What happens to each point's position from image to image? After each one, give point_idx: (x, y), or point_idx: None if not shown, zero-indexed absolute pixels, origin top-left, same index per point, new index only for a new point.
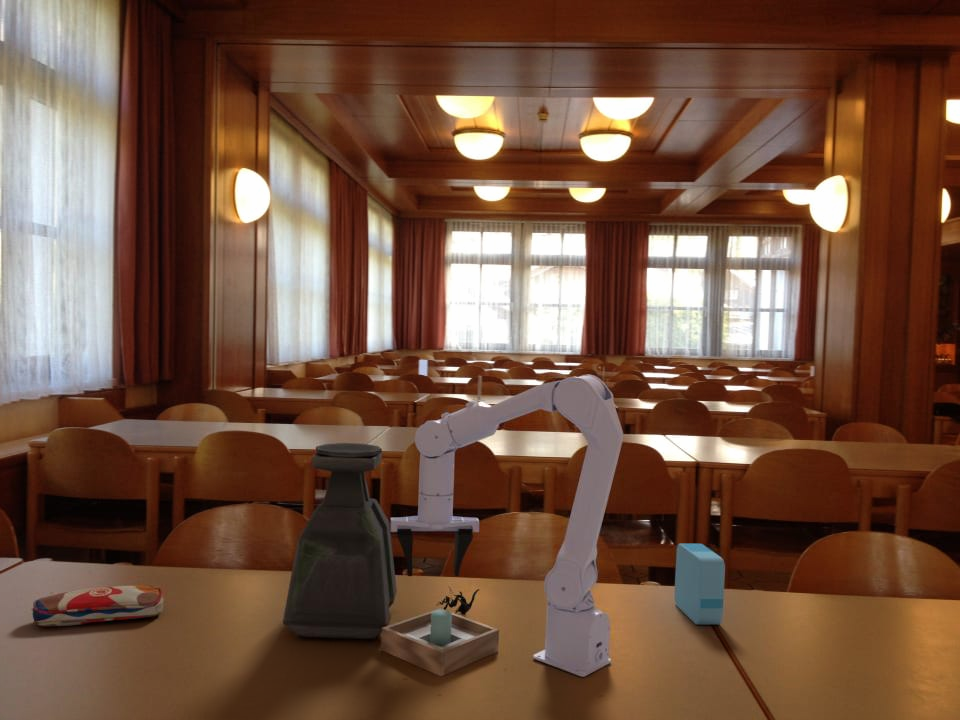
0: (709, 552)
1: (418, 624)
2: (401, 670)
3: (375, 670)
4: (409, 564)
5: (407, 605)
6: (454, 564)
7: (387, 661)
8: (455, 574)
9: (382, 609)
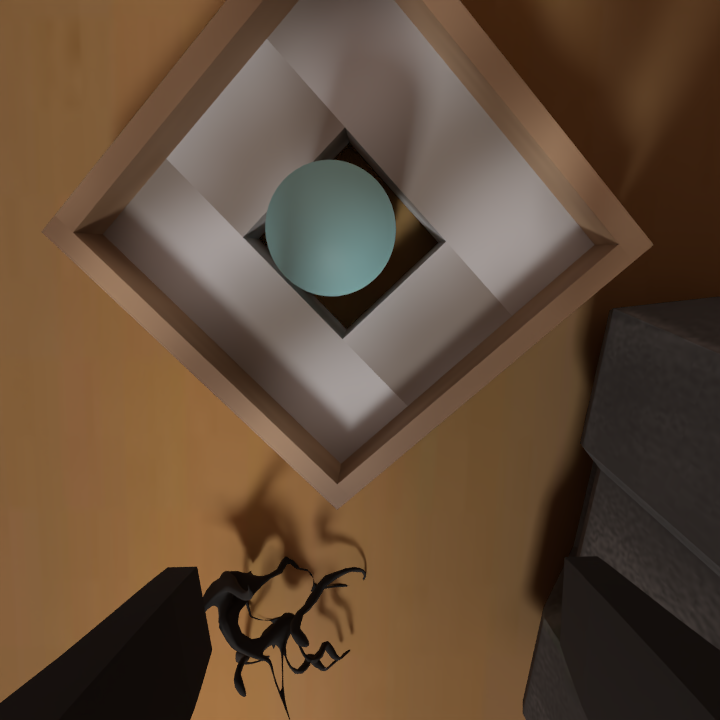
0: None
1: (441, 381)
2: (524, 19)
3: (641, 16)
4: (669, 632)
5: (456, 674)
6: (168, 692)
7: (578, 122)
8: (185, 573)
9: (694, 325)
